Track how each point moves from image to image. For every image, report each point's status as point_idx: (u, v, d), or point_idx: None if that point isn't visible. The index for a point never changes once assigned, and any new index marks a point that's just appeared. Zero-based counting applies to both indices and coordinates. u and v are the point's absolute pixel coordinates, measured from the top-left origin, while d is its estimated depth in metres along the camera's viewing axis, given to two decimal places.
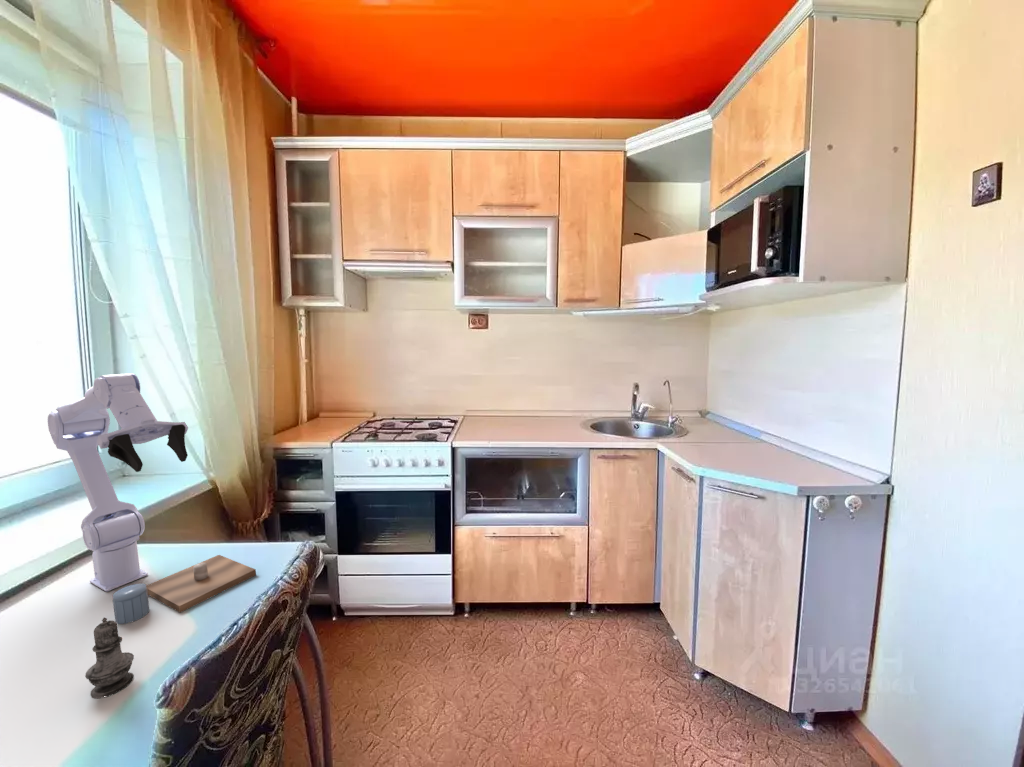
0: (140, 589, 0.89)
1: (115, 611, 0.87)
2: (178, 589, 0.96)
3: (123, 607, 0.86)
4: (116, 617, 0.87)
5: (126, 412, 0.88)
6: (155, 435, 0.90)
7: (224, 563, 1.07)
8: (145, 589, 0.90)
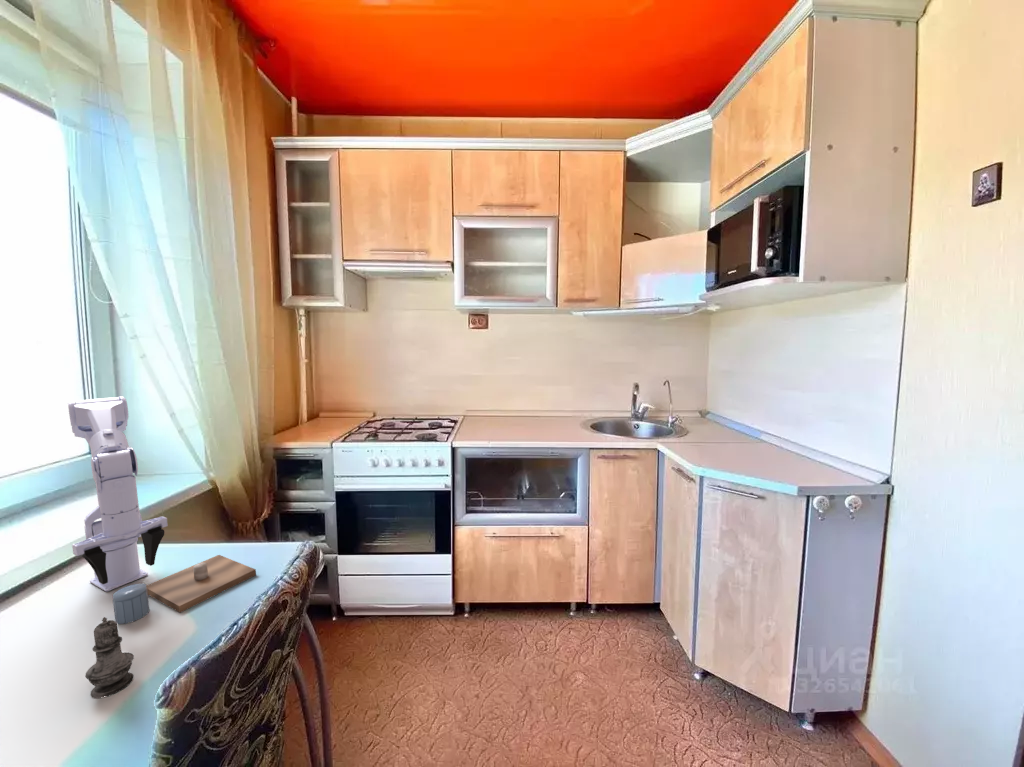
0: (140, 589, 0.89)
1: (115, 611, 0.87)
2: (178, 589, 0.96)
3: (123, 607, 0.86)
4: (116, 617, 0.87)
5: (112, 516, 0.84)
6: None
7: (224, 563, 1.07)
8: (145, 589, 0.90)
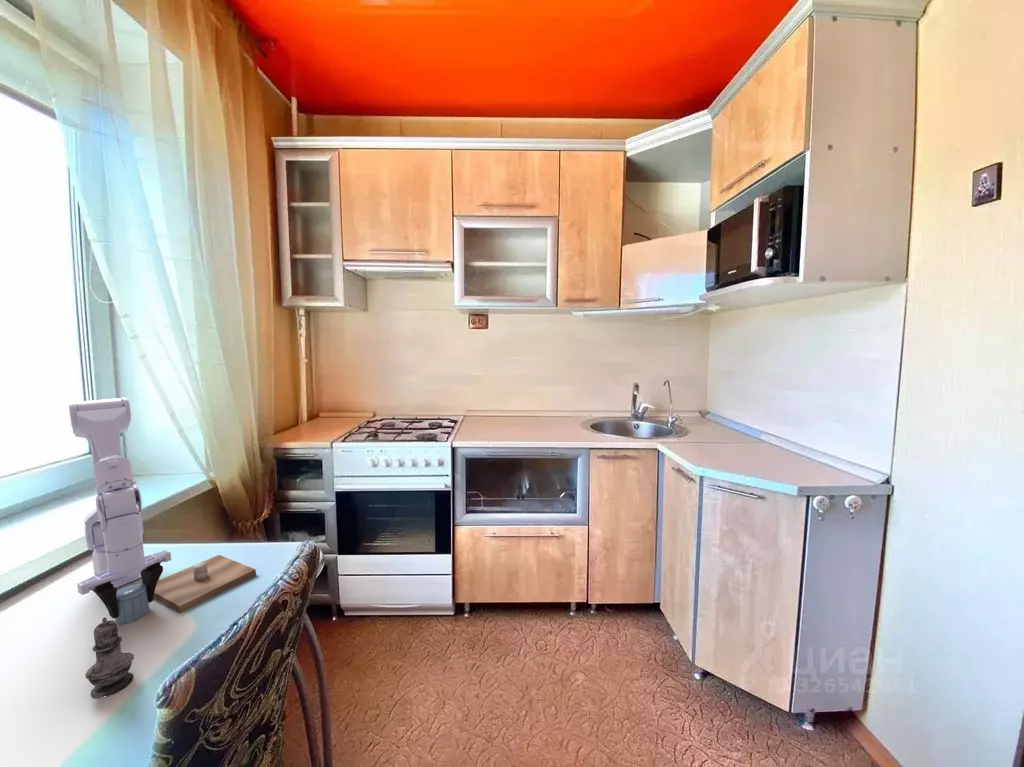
0: (140, 589, 0.89)
1: None
2: (178, 589, 0.96)
3: (123, 607, 0.86)
4: None
5: (117, 554, 0.85)
6: None
7: (224, 563, 1.07)
8: (145, 589, 0.90)
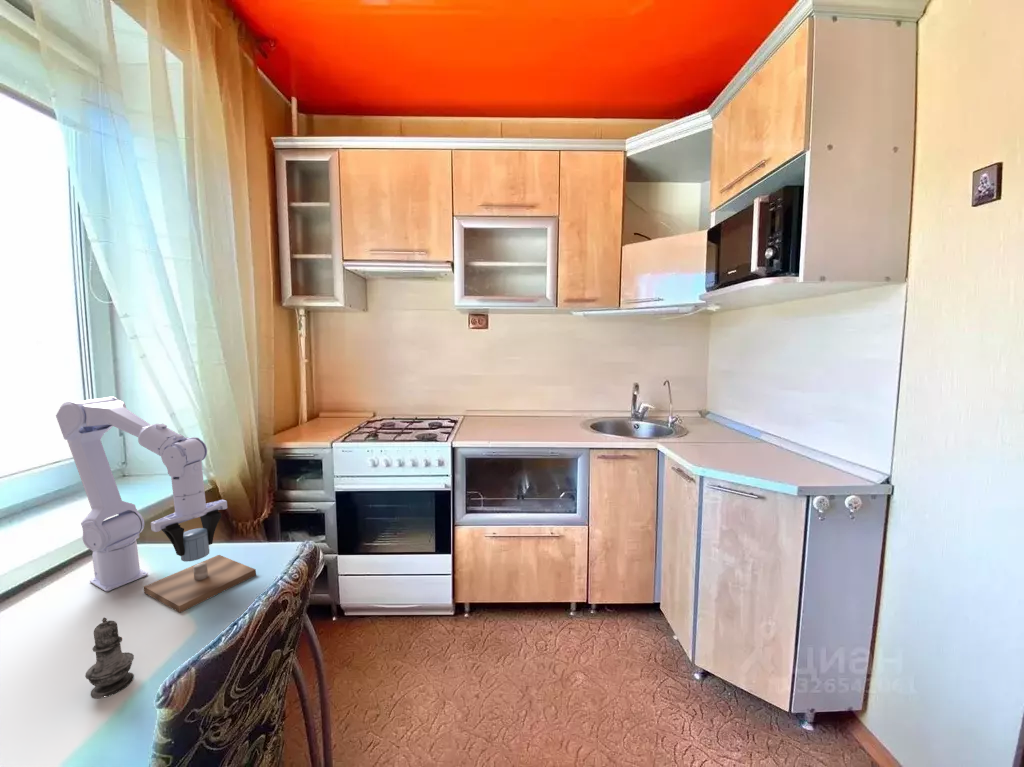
0: (202, 532, 0.99)
1: None
2: (178, 589, 0.96)
3: (189, 546, 0.96)
4: None
5: (184, 498, 0.95)
6: None
7: (224, 563, 1.07)
8: (206, 532, 0.99)
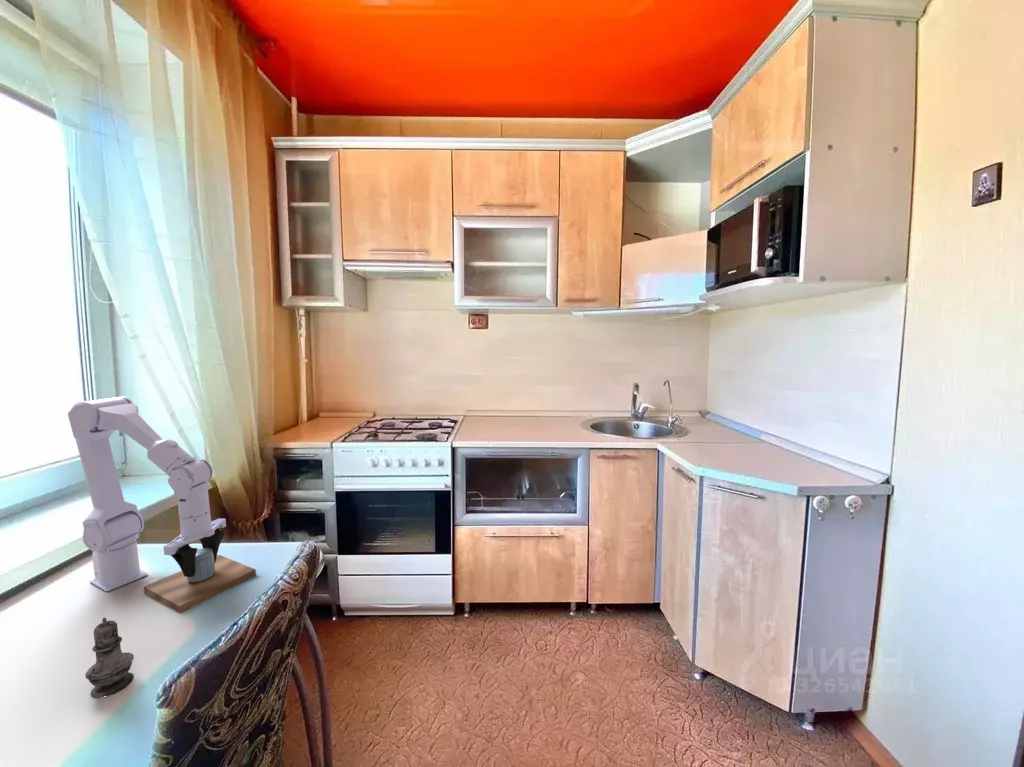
0: (209, 551, 1.01)
1: None
2: (178, 589, 0.96)
3: (199, 566, 0.98)
4: None
5: (195, 518, 0.97)
6: None
7: (224, 563, 1.07)
8: (212, 551, 1.01)
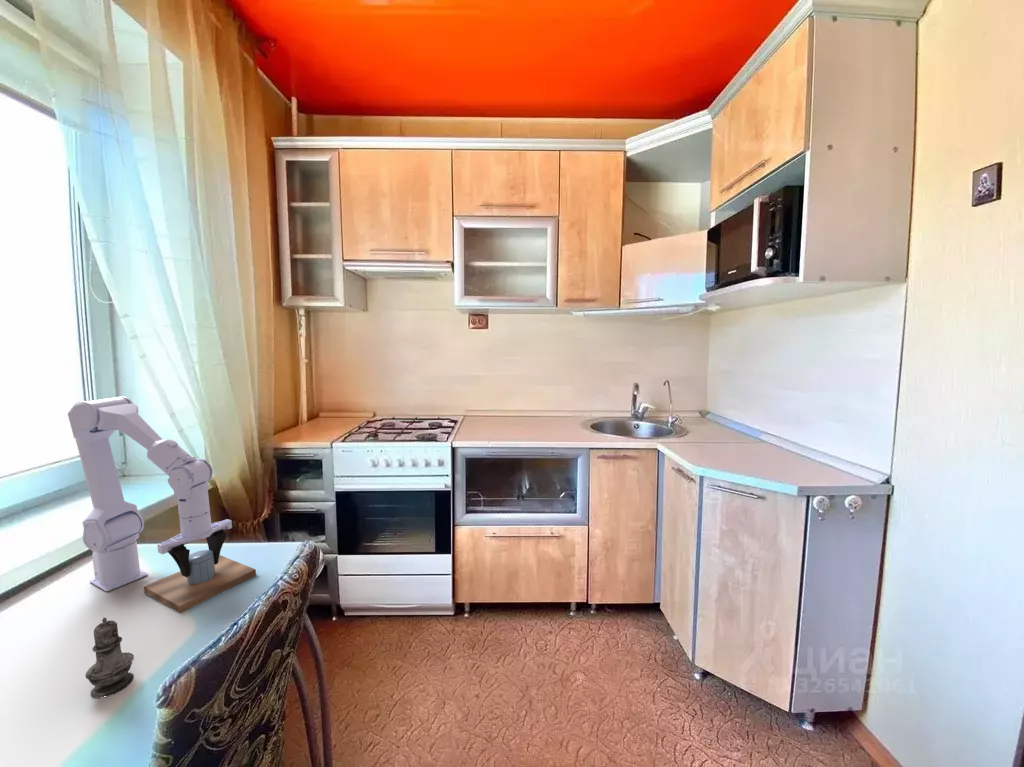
0: (208, 551, 1.01)
1: (197, 573, 0.98)
2: (178, 589, 0.96)
3: (206, 566, 0.99)
4: (198, 578, 0.98)
5: (190, 519, 0.96)
6: None
7: (224, 563, 1.07)
8: None
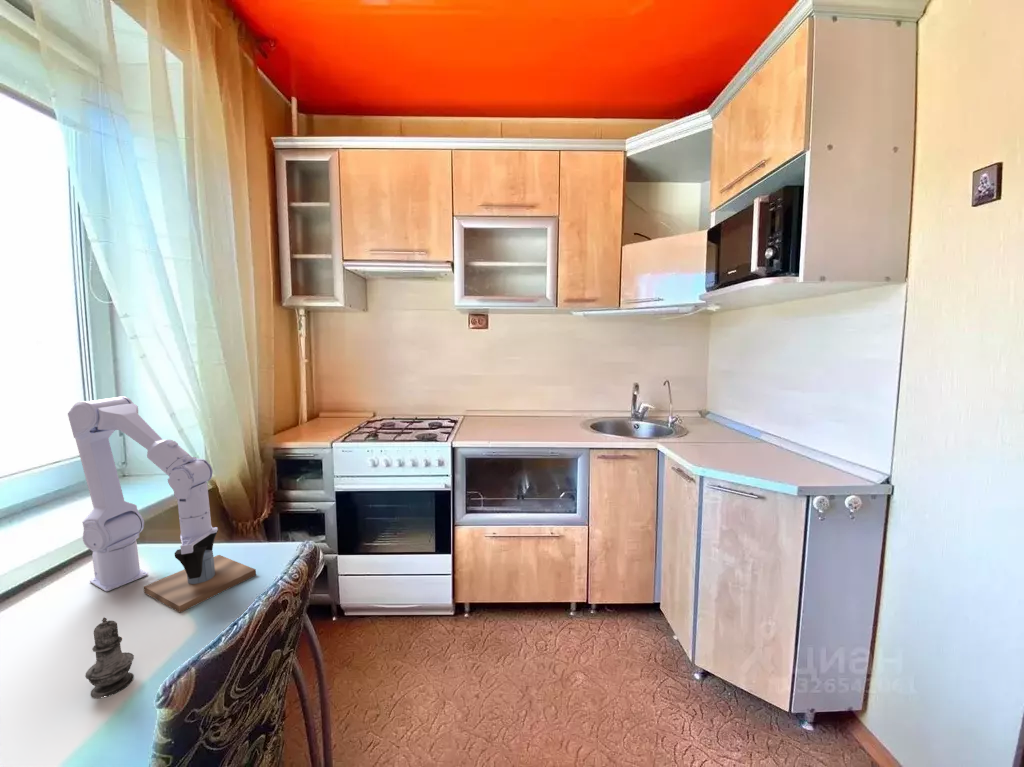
0: None
1: (208, 569, 0.99)
2: (178, 589, 0.96)
3: (213, 561, 1.01)
4: (209, 574, 0.99)
5: (203, 516, 0.98)
6: None
7: (224, 563, 1.07)
8: None
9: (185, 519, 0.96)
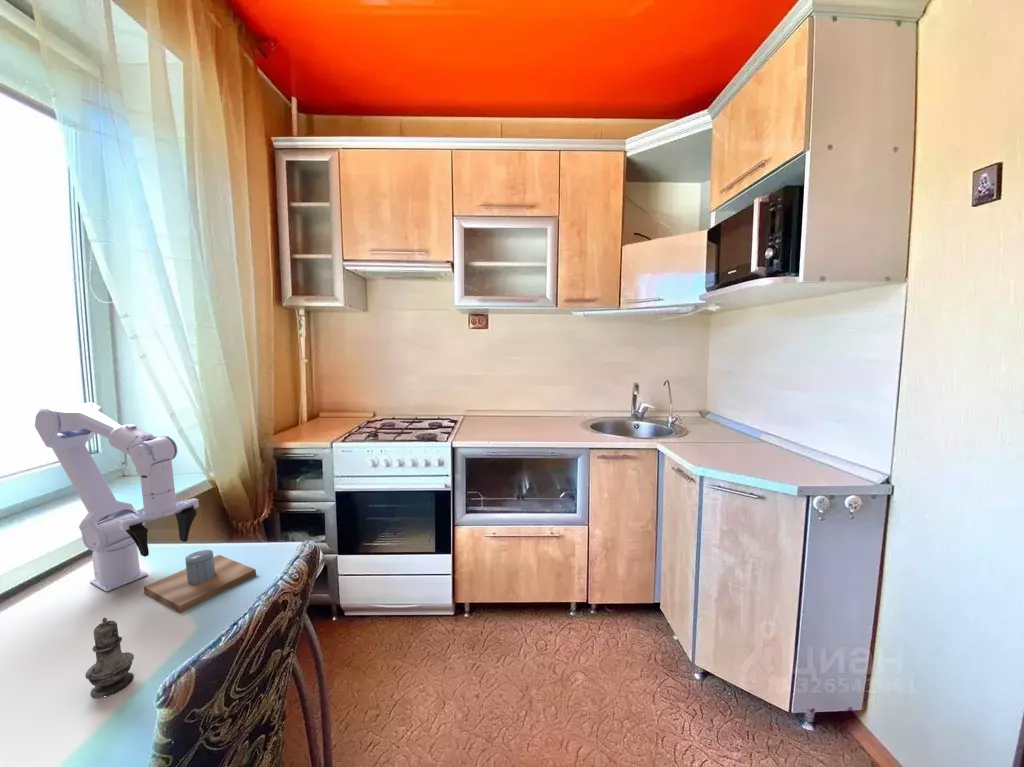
0: (202, 551, 1.02)
1: (208, 569, 0.99)
2: (178, 589, 0.96)
3: (213, 561, 1.01)
4: (209, 574, 0.99)
5: (153, 496, 0.95)
6: None
7: (224, 563, 1.07)
8: None
9: (142, 494, 0.96)
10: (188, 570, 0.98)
